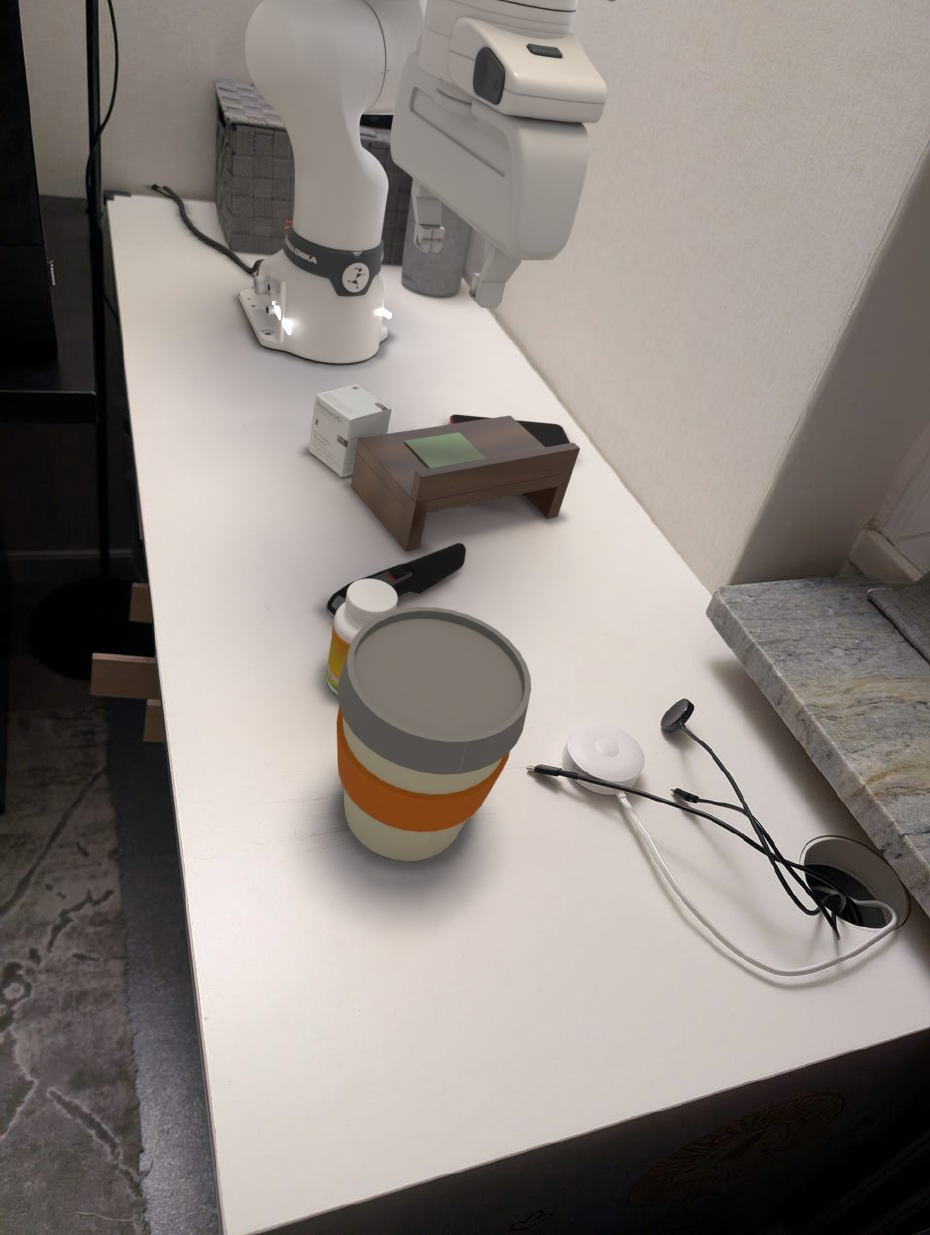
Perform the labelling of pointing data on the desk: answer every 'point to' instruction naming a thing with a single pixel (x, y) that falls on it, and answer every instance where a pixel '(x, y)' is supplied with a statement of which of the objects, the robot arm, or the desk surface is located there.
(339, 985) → the desk surface
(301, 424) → the desk surface
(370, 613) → the supplement bottle
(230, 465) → the desk surface
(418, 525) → the shelf
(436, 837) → the reusable coffee cup
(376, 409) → the product carton
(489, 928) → the desk surface
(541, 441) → the smartphone
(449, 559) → the electric trimmer
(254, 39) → the robot arm
